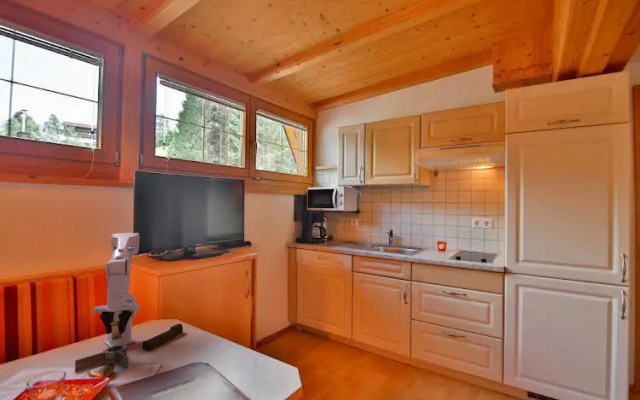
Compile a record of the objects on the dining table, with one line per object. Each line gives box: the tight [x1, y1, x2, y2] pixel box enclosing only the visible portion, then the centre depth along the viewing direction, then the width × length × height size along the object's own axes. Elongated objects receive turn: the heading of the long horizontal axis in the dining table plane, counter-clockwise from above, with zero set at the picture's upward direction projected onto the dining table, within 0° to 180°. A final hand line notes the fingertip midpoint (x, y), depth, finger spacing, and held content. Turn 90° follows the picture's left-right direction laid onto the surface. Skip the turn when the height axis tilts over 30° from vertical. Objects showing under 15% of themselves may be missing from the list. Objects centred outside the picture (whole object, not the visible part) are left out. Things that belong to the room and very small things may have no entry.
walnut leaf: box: [74, 350, 128, 373], centre depth 103 cm, size 6×14×4 cm, turn 141°
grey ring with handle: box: [102, 345, 129, 370], centre depth 103 cm, size 14×6×4 cm, turn 50°
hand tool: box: [141, 323, 184, 352], centre depth 121 cm, size 19×4×5 cm, turn 160°
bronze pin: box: [110, 319, 122, 340], centre depth 106 cm, size 4×4×6 cm
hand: (116, 332), depth 106 cm, fingers closed on bronze pin, 4 cm apart
